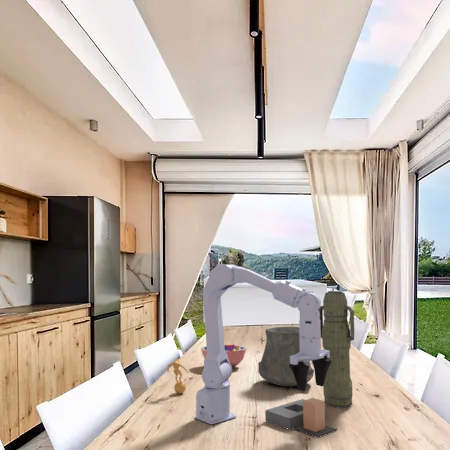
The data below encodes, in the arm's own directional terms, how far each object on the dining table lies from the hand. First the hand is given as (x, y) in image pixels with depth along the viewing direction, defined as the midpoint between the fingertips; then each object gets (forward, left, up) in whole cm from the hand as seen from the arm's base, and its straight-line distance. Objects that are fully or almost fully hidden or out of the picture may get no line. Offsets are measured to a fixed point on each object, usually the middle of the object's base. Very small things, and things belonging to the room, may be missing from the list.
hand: (311, 388), depth 122 cm
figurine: (-9, +50, -10) cm, 52 cm away
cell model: (+29, +71, -11) cm, 78 cm away
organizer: (+2, +7, -10) cm, 13 cm away
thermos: (+23, +8, -10) cm, 27 cm away
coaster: (-1, -2, -10) cm, 10 cm away
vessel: (+29, +34, -11) cm, 46 cm away
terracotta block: (-1, -1, -10) cm, 10 cm away
